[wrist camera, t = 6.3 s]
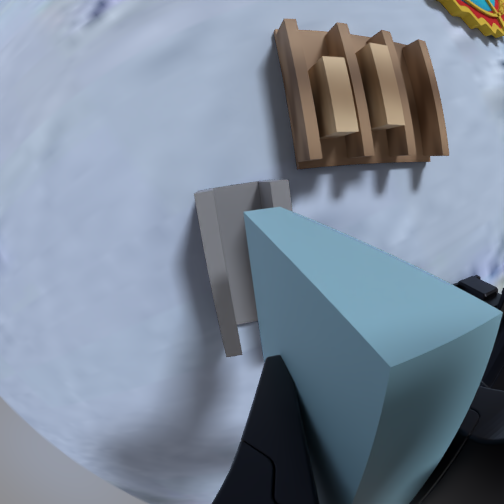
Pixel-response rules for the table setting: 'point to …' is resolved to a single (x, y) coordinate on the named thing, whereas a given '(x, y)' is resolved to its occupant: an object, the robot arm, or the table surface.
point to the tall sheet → (366, 354)
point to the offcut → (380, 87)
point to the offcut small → (332, 98)
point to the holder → (234, 249)
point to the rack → (360, 100)
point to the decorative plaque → (479, 14)
